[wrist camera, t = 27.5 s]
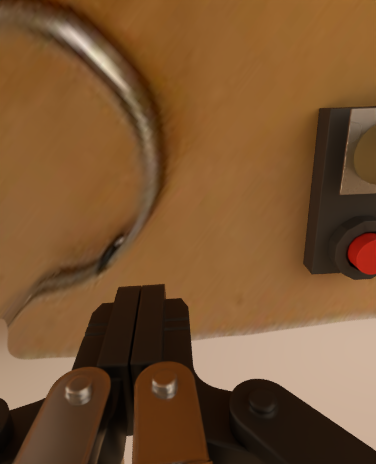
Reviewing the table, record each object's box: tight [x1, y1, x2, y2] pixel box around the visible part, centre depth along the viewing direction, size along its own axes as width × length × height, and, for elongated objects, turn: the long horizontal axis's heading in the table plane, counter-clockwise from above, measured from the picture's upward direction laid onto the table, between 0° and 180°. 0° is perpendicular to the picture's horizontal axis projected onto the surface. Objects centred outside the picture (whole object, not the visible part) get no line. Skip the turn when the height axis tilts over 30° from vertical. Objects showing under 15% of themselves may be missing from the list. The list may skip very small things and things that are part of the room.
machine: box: [303, 106, 376, 280], centre depth 36 cm, size 18×10×4 cm, turn 2°
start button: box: [348, 233, 376, 275], centre depth 35 cm, size 4×4×2 cm
